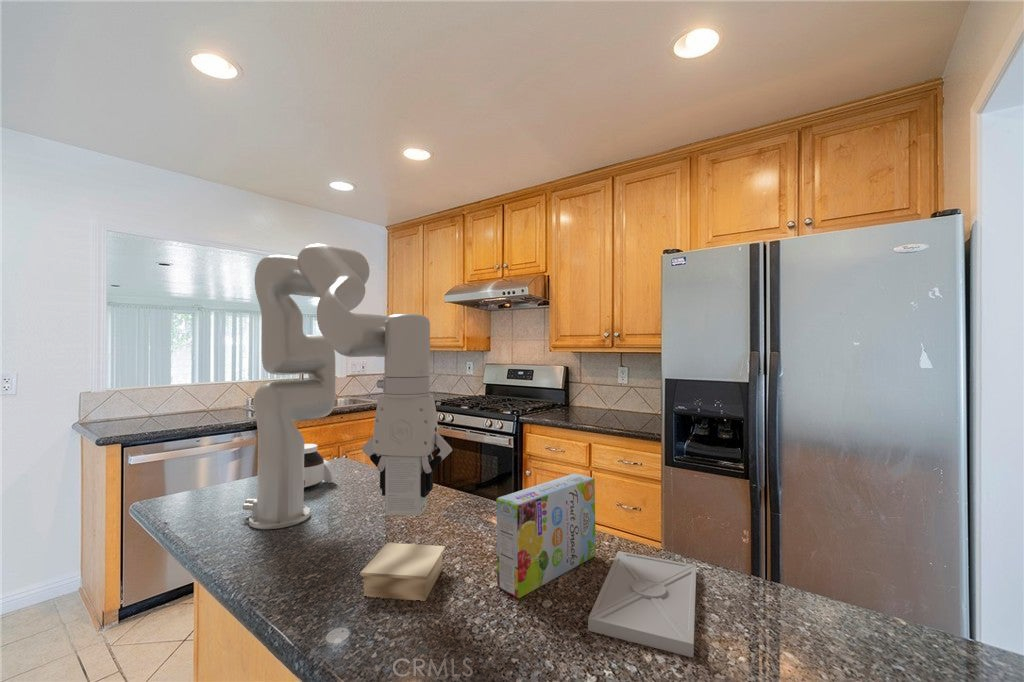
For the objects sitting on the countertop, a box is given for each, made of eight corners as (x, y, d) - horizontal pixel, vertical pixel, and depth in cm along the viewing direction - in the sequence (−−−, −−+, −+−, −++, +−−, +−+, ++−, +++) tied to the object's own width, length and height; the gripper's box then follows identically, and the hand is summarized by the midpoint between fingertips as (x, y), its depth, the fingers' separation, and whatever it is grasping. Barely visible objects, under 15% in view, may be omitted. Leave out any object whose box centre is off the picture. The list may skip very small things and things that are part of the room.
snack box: (573, 547, 89) (573, 471, 89) (597, 557, 85) (597, 477, 85) (494, 587, 74) (495, 495, 74) (518, 601, 70) (519, 504, 70)
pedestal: (360, 597, 70) (360, 572, 70) (387, 564, 81) (387, 542, 81) (426, 602, 69) (426, 576, 69) (445, 568, 80) (445, 546, 80)
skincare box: (427, 507, 77) (427, 437, 77) (419, 516, 73) (420, 443, 73) (393, 506, 78) (393, 437, 78) (383, 515, 73) (384, 442, 74)
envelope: (696, 576, 79) (618, 561, 85) (696, 563, 79) (618, 549, 85) (693, 659, 57) (588, 632, 63) (693, 642, 57) (588, 616, 63)
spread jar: (278, 491, 122) (278, 448, 123) (303, 479, 134) (304, 440, 134) (318, 493, 120) (318, 450, 121) (340, 481, 132) (341, 441, 132)
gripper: (348, 388, 73) (347, 499, 73) (451, 389, 71) (450, 503, 71) (368, 384, 80) (367, 485, 80) (462, 386, 78) (461, 489, 78)
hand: (406, 493), depth 75 cm, fingers closed on skincare box, 6 cm apart
